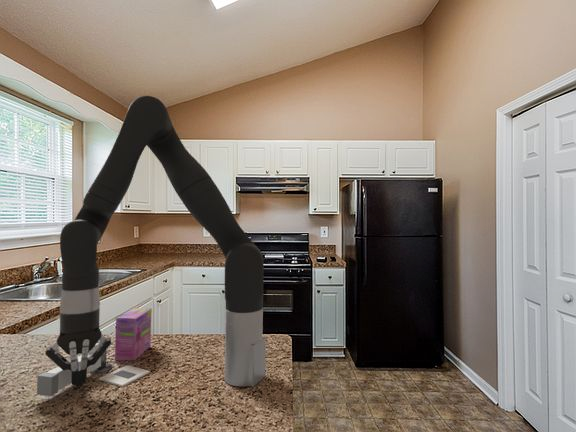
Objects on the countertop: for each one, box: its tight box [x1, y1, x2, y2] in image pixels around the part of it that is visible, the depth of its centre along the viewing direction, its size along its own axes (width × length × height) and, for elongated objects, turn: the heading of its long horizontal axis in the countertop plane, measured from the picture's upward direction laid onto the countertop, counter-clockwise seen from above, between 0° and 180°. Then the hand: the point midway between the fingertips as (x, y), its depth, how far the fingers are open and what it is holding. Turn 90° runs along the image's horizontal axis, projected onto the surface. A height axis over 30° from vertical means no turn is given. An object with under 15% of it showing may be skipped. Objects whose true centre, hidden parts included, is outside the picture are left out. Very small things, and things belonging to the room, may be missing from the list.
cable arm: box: [36, 336, 112, 397], centre depth 78 cm, size 18×4×6 cm, turn 169°
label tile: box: [98, 364, 151, 388], centre depth 81 cm, size 8×8×1 cm
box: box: [114, 307, 152, 361], centre depth 95 cm, size 10×6×12 cm, turn 179°
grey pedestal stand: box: [90, 348, 113, 374], centre depth 85 cm, size 5×5×6 cm
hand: (78, 385), depth 73 cm, fingers closed
